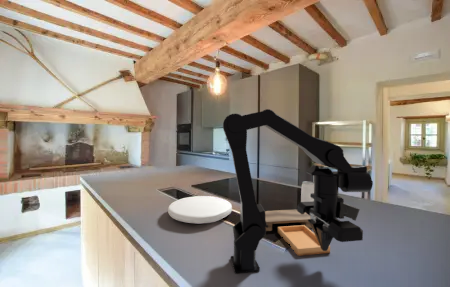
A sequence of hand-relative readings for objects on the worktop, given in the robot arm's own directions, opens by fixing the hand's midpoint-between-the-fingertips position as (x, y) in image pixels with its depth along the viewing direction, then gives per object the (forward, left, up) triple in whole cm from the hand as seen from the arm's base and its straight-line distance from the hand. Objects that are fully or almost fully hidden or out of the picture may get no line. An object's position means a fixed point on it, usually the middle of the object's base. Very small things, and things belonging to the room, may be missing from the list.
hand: (324, 250), depth 54 cm
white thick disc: (+39, +31, -4) cm, 50 cm away
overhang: (+25, 0, -4) cm, 25 cm away
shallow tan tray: (+11, 0, -4) cm, 12 cm away
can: (+39, -19, -4) cm, 44 cm away
